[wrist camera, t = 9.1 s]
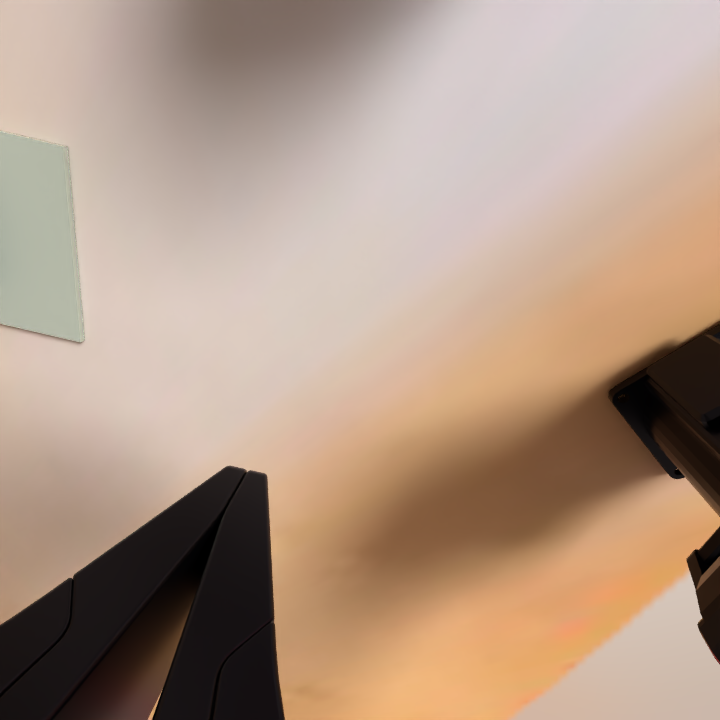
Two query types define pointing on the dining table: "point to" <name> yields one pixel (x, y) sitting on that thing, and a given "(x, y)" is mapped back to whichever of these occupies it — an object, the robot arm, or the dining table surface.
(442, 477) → the dining table surface
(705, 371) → the robot arm
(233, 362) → the dining table surface
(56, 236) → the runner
